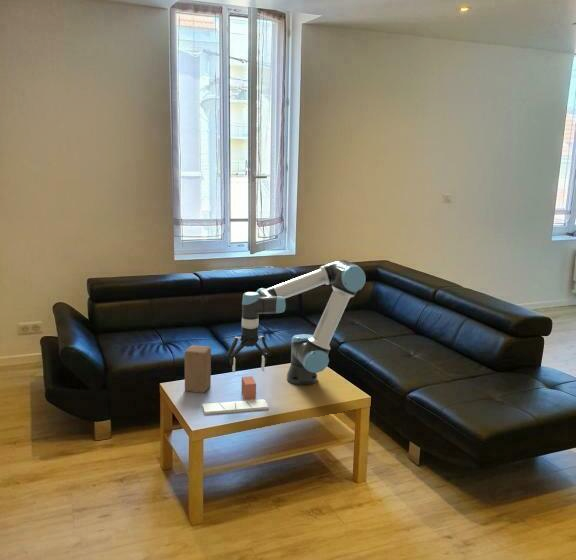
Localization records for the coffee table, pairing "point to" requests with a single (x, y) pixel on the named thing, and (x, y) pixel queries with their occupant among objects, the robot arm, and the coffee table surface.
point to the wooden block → (197, 368)
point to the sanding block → (248, 388)
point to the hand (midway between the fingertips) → (248, 370)
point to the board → (235, 406)
